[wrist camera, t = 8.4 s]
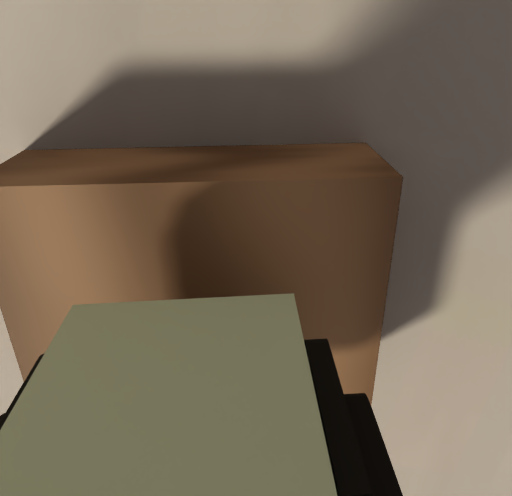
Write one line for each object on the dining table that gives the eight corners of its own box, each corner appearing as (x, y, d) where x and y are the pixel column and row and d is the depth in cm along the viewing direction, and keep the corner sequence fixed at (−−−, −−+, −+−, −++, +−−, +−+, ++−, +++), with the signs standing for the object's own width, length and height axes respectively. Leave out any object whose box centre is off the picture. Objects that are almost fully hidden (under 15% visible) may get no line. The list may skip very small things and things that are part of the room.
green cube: (293, 293, 10) (338, 500, 6) (293, 446, 13) (325, 681, 8) (72, 304, 10) (-56, 525, 6) (112, 457, 12) (42, 702, 8)
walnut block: (363, 140, 15) (402, 176, 11) (343, 353, 19) (367, 429, 16) (28, 147, 15) (-38, 187, 11) (79, 362, 19) (43, 442, 15)
